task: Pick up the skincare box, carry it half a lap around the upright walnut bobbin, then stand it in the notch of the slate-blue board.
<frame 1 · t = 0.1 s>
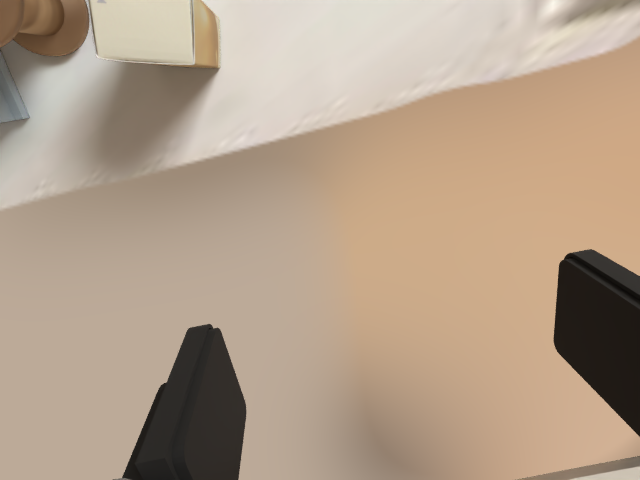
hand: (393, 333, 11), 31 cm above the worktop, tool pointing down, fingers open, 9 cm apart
bobbin: (45, 10, 33), on the worktop
skincare box: (187, 40, 35), on the worktop
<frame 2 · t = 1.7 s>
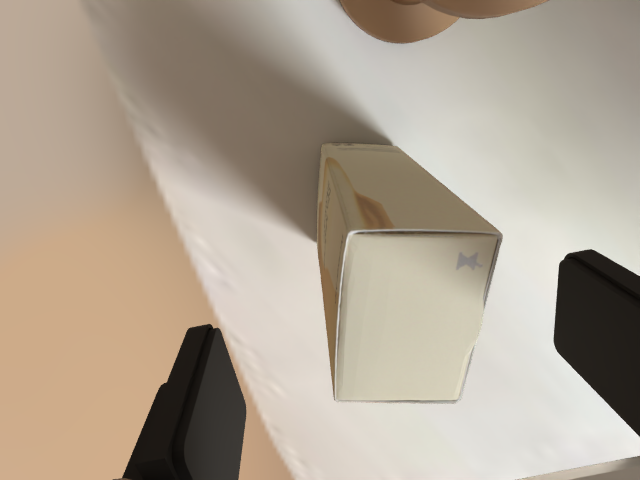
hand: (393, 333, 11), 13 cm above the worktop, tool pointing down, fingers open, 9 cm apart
skincare box: (354, 198, 23), on the worktop
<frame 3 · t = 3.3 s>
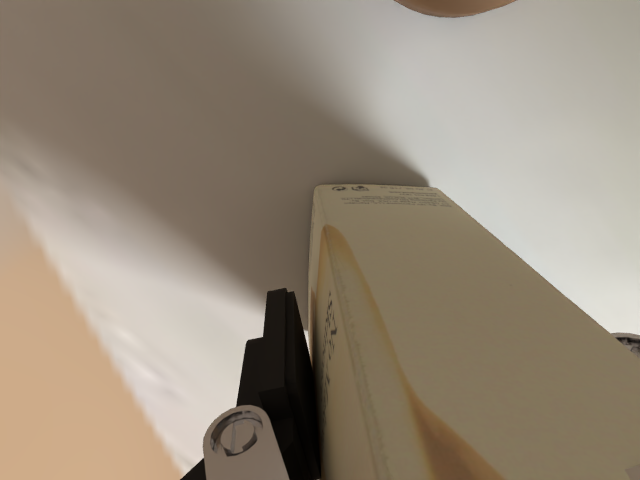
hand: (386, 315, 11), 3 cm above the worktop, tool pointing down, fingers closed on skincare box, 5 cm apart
skincare box: (366, 266, 14), on the worktop, touching gripper
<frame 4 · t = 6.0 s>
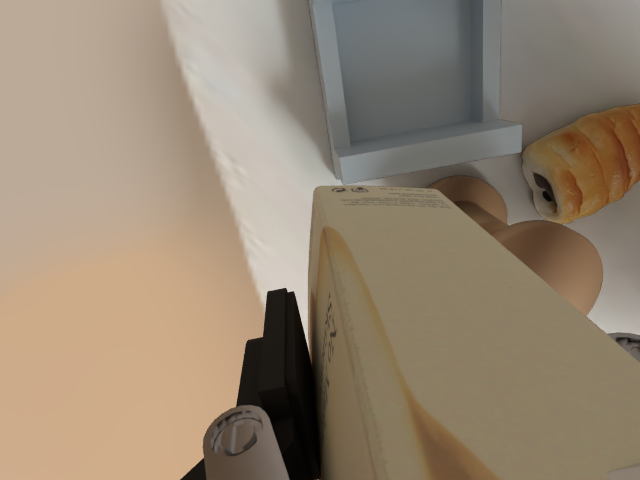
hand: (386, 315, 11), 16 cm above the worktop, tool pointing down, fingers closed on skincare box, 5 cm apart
bobbin: (453, 222, 28), on the worktop
skincare box: (366, 267, 14), point 13 cm above the worktop, touching gripper
pastry: (573, 157, 28), on the worktop
notched board: (400, 67, 24), on the worktop
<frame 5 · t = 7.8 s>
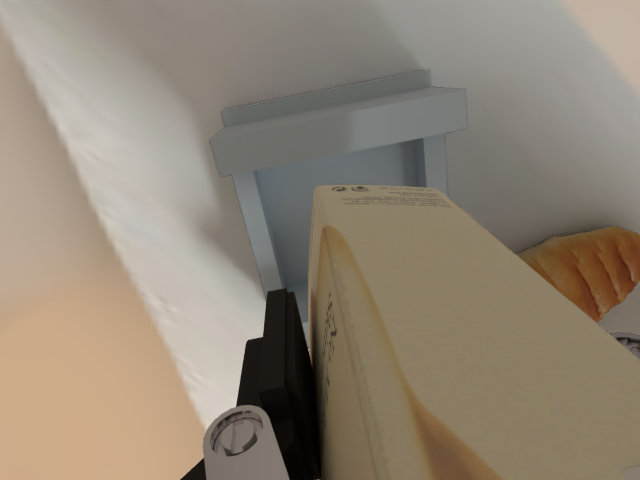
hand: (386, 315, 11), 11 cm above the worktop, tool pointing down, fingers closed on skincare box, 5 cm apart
skincare box: (366, 267, 14), point 8 cm above the worktop, touching gripper
pastry: (539, 276, 25), on the worktop
notched board: (342, 204, 22), on the worktop
when the fingers open (5 cm above the worktop, at t = 9.2 s): skincare box stays where it is, resting on notched board.
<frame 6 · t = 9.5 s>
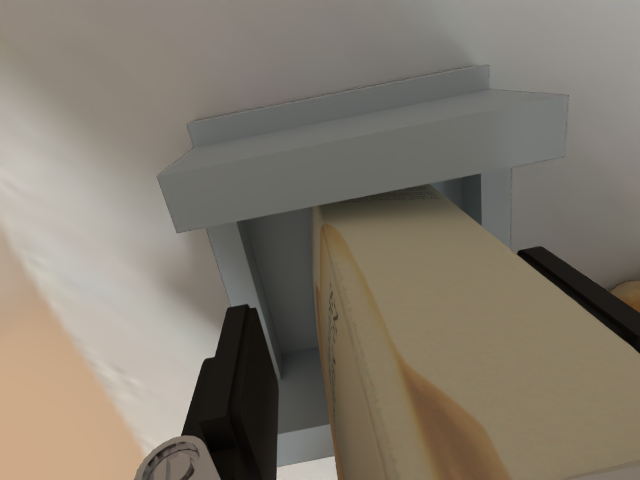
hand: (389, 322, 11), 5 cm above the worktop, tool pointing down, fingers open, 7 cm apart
skincare box: (366, 260, 15), point 1 cm above the worktop, touching notched board
pastry: (605, 329, 19), on the worktop
notched board: (358, 247, 16), on the worktop
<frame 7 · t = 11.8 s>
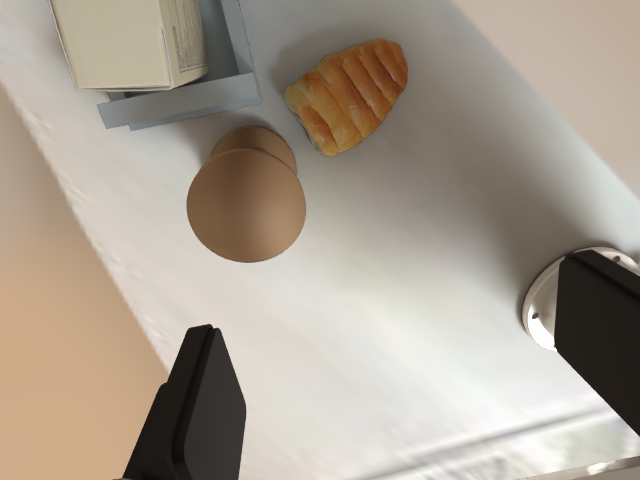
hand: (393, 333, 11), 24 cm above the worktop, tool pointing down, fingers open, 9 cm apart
bobbin: (253, 169, 32), on the worktop
skincare box: (173, 30, 27), point 1 cm above the worktop, touching notched board
pastry: (339, 96, 31), on the worktop
notched board: (172, 28, 28), on the worktop
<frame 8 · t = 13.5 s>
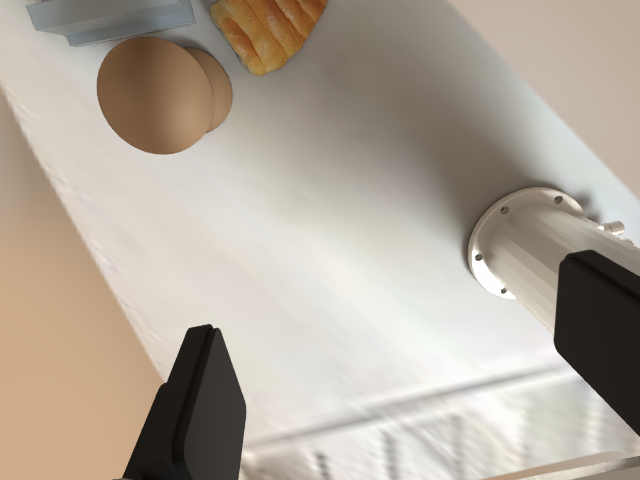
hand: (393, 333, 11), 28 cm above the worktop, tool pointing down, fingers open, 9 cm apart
bobbin: (191, 92, 34), on the worktop
pastry: (268, 18, 33), on the worktop
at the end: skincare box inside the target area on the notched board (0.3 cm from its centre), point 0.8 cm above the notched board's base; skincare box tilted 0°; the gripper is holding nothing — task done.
